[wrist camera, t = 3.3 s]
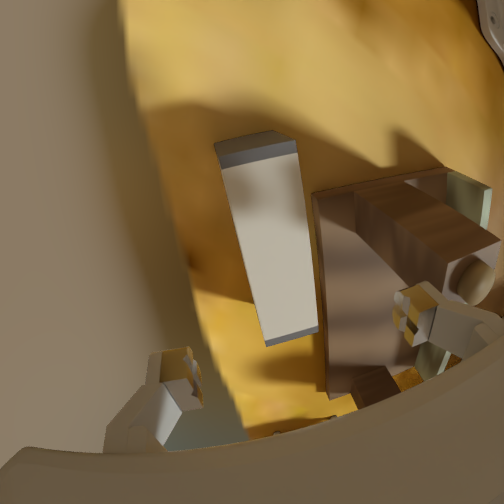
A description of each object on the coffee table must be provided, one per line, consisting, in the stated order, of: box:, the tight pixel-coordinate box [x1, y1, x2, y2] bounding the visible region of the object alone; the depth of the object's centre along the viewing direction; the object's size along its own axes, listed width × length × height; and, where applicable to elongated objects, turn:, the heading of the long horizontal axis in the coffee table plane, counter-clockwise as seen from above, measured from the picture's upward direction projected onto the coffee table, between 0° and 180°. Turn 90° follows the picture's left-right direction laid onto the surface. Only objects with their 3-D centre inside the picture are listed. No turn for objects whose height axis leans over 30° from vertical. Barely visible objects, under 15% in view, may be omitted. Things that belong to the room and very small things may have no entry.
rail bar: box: [214, 130, 319, 347], centre depth 18 cm, size 12×4×4 cm, turn 11°
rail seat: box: [311, 167, 501, 410], centre depth 20 cm, size 23×12×11 cm, turn 11°
